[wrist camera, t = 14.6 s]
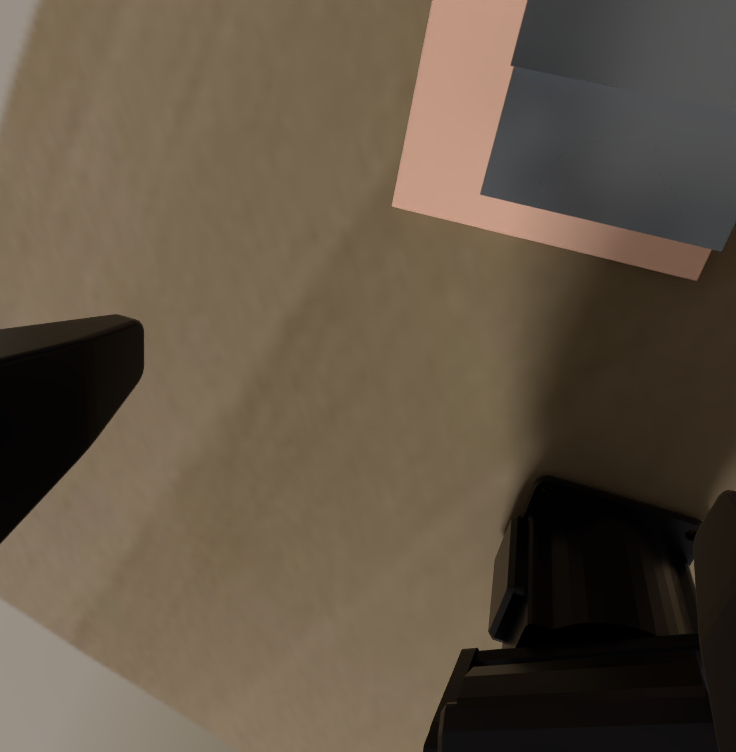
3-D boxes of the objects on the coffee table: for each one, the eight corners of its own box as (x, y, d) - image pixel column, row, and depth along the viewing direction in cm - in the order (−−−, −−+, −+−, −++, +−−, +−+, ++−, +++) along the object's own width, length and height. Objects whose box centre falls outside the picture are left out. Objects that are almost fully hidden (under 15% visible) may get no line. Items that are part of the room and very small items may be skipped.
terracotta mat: (876, -112, 15) (884, -116, 14) (694, 277, 20) (697, 280, 19) (469, -177, 16) (468, -182, 16) (394, 203, 21) (391, 206, 21)
